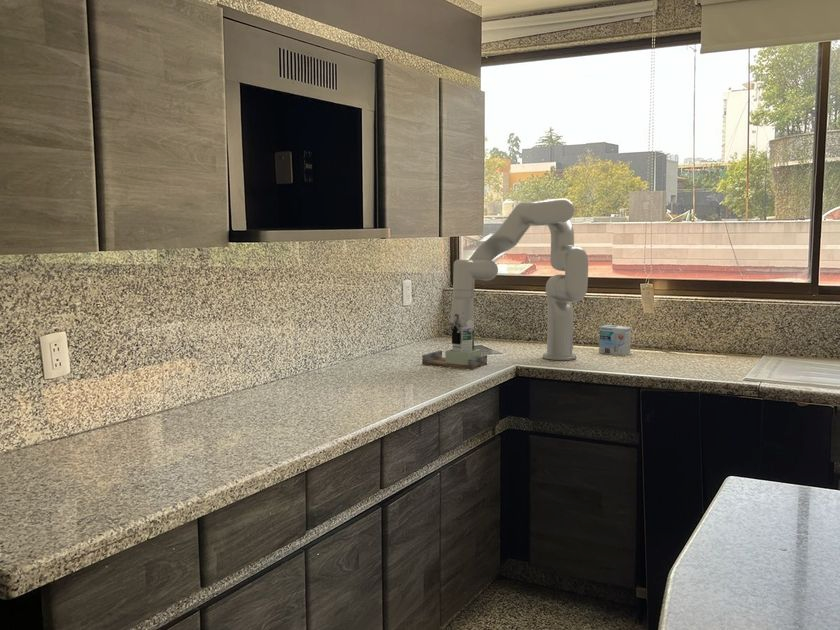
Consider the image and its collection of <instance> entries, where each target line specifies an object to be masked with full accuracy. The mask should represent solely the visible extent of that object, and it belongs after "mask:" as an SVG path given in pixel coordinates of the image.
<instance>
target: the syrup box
mask: <svg viewBox="0 0 840 630" xmlns="http://www.w3.org/2000/svg"><path fill="white" fill-rule="evenodd" d="M474 323H475V322H474V321H473V320H470V321H467V323H466V326H464V327H461V330H460V333H461V343H460V344H452V343H451V345H452V347H451V349H452V351H456V352H467V353H468V352H472V351H474V349H475V324H474ZM457 329H458V327H457Z"/></svg>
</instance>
